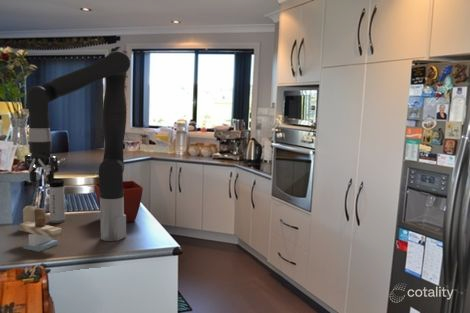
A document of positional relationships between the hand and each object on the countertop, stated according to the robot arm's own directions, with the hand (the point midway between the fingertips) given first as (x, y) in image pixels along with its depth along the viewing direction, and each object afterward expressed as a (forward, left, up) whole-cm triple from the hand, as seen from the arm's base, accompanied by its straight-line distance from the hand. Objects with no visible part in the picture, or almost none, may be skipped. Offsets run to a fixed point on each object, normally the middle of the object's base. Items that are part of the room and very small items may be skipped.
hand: (41, 182), depth 150 cm
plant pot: (-3, -41, -25) cm, 48 cm away
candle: (+22, -13, -25) cm, 36 cm away
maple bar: (0, +2, -19) cm, 19 cm away
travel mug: (+20, -26, -25) cm, 41 cm away
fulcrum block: (0, +2, -24) cm, 24 cm away
